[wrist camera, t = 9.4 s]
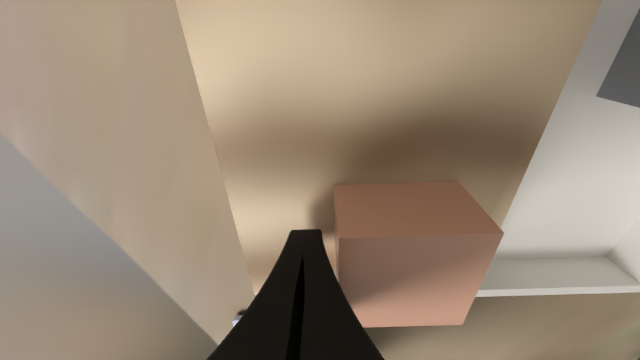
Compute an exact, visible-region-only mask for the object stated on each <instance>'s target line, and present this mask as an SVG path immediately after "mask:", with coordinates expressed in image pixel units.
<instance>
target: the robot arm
mask: <svg viewBox="0 0 640 360" xmlns="http://www.w3.org/2000/svg"><path fill="white" fill-rule="evenodd" d="M233 326H234V327H233V329H232V330H231V331H230V332H229V334H228V335H227V336H226V337H225V339H224V340H223V341H222V342H221V344H220V345H219V346H218V347H217V348H216V350H215V351H214V352H213V353H212V354H211V355H210V356H209V357H208V358H207V360H384V358H383V357H382V356H381V354H380V353H379V351H378V350H377V348H376V347H375V345H374V344H373V342H372V341H371V339H370V337H369V336H368V334H367V333H366V331H365V330H364V328H363V327H362V325H361V323H360V322H359V320H358V318H357V317H356V315H355V313H354V311H353V310H352V308H351V306H350V304H349V302H348V301H347V299H346V297H345V295H344V293H343V291H342V289H341V287H340V285H339V283H338V280H337V278H336V276H335V274H334V271H333V269H332V266H331V264H330V261H329V259H328V256H327V253H326V250H325V246H324V242H323V238H322V231H321V230H320V229H303V230H291V231H290V233H289V236H288V238H287V241H286V243H285V245H284V248H283V250H282V252H281V254H280V256H279V258H278V260H277V262H276V263H275V265H274V267H273V269H272V271H271V273H270V274H269V276H268V278H267V279H266V281H265V283H264V284H263V286H262V288H261V289H260V291H259V292H258V294H257V295H256V297H255V299H254V300H253V301H252V303H251V304H250V306H249V307H248V309H247V310H246V311H245V313H244V314H243V315H238V316H235V317H234V319H233Z"/></svg>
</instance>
